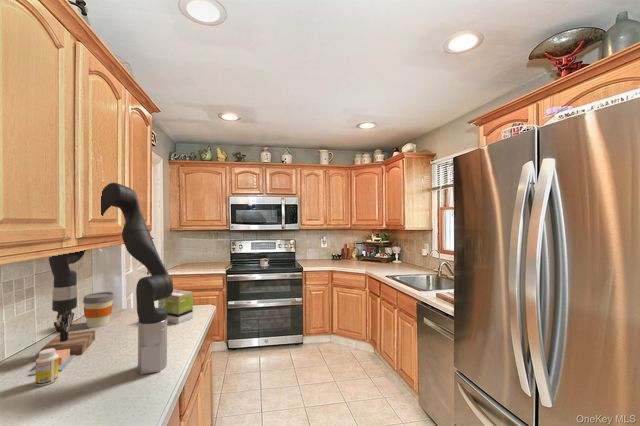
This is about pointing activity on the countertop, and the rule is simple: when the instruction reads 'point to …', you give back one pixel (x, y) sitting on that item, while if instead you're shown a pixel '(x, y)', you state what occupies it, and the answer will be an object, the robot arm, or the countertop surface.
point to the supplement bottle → (46, 367)
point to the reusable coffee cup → (98, 308)
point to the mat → (60, 367)
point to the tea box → (178, 306)
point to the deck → (72, 342)
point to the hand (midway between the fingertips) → (64, 340)
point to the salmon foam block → (62, 355)
